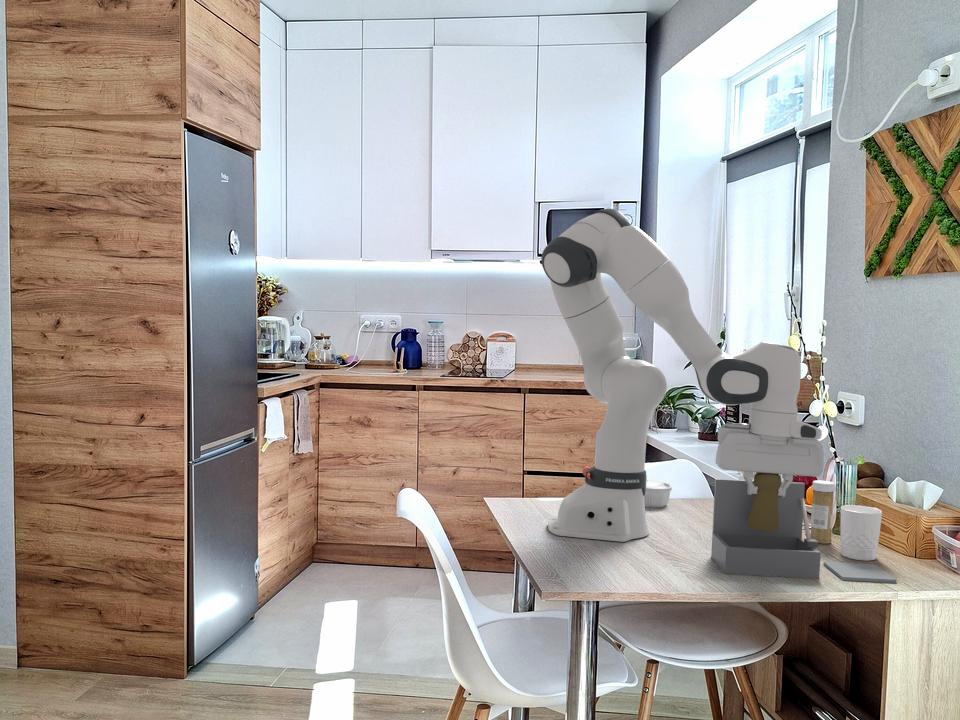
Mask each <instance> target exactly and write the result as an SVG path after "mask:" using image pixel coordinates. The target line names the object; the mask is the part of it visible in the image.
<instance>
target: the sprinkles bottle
mask: <svg viewBox="0 0 960 720" xmlns="http://www.w3.org/2000/svg"><path fill="white" fill-rule="evenodd" d="M811 485H812V501H811V502H812V503H811V513H810V514H811V516H810V518H811V519H810V536H811V539H815V540H816V541H818V544H823V545H824V544H825V545H826V544H831V543H832V531H833V529H832V528H833V516H834V515H833V512H834V511H833V509H834V505H833V504H834V493H835V490H836V487H835V482H833V481H830V480H823V479H822V480H821V479H820V480H818V479H817V480H813V481H812V484H811Z"/></svg>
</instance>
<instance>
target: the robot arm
mask: <svg viewBox="0 0 960 720" xmlns="http://www.w3.org/2000/svg"><path fill="white" fill-rule="evenodd" d="M541 265H542V269H543V271H544V273H545V275H546V276H547V278H548V279H549V281H550V285H551V289H552V292H553V295H554V298H555V301H556V304H557V307H558V308H559V311H560V314H561V315H562V317H563V320H564V322H565V323H566V326H567V328H568V329H569V330H568V331H569V332H570V333H571V336H572V338H573V340H574V342H575V344H576V347H577V349H578V353H579V355H580V359H581V363H582V364H581V365H582V367H583V370H584V371H583V372H584V373H583V374H584V375H583V383H584V388H585V390H586V391H587V393H588V394H589V395H590V396H591V397H593V398H594V399H595V400H596V401H598V402H600V403H602V404H606V405H607V409H606V413H605V416H604V419H603V421H602V424H601V426H600V427H599V428H598V430H597V431H596V433H595V434H596V435H595V450H594V451H595V452H594V453H595V454H594V455H595V456H594V466H593V467H589V466H587V465H585V466H583V468H582V470H581V471H582V475H583V476H584V482H585V483H583V484H581V486H579V487H578V488H577V489H575V490H573V491H572V492H570V493H569V494H567V495H566V496H564V498H562V501H561V502H560V504H559V505H560V506H559V508H558V513H557V517H551V518H550V519H549V520H548V523H547V529H548V531H549V532H550V533H552V534H553V535H555V536H561V537H571V538H578V539H579V538H581V539H589V540H592V539H593V540H601V541H610V542H611V541H612V542H618V543H619V542H621V543H622V542H624V543H625V542H628V541H630V540H634V539H635V540H636V539H641V538H645V537H647V536H648V535H650V531H649V527H648V522H647V517H646V516H647V515H646V507H645V504H644V496H645V492H646V482H647V479H648V477H647V470H645V466H646V452H647V451H646V450H647V438H648V433H649V429H650V424H651V421H652V418H653V416H654V412H655V410H656V409H657V407H658V405H659V404H661V403H662V401H663V400H664V398H665V396H666V394H667V387H668V386H667V385H668V384H667V379H666V376H665V375H664V372H663V371H662V370H661V369H660V368H658V367H657V366H656V365H654V364H652V363H651V362H648V361H646V360H643V359H635V358H634V359H633V358H631V357H630V356H629V355H628V353H627V350H626V348H625V343H624V339H623V338H624V337H623V335H624V334H623V333H624V330H625V327H624V324H623V321H622V319H621V317H620V314H619V313H618V310H617V308H616V306H615V305H614V302H613V301H612V298H611V296H610V294H609V292H608V290H607V288H606V286H605V284H604V282H603V280H602V276H601V275H602V274H606V275H608V276H610V277H611V278H612V279H613V280H614V281H615V282H616V284H617V285H618V286H619V288H620V289H621V291H622V292H623V294H625V295H626V297H627V298H628V300H629V301H630V302H631V303H632V304H633V305H634V306H635V307H636V308H637V309H638V310H639V311H640V312H641V313H643V315H644V316H646V317H647V319H648V318H649V320H651V321H652V322H654V323H655V324H656V325H657V326H659V327H661V328H662V329H663V330H664V331H665V332H666V333H667V334H668V335H669V336H670V337H671V338H672V339H673V341H674V343H675V344H677V346H678V348H680V350H681V352H682V353H683V354H684V355H685V357H686V358H687V359H688V360H689V362H690V363H691V365H692V366H693V369H694V371H695V374H696V380H697V383H698V386H699V388H700V391H701V392H702V393H703V394H702V395H704V396H705V397H706V398H708V400H710V401H712V402H714V403H715V402H716V403H719V404H721V405H725V406H737V405H743V404H744V405H745V404H749V405H750V406H749V417H748V423H743V422H739V423H735V422H730V421H729V422H726V423H725V424H722V425H720V427H719V428H718V431H717V442H718V445H717V449H716V453H715V454H716V455H715V465H716V466H717V467H718V468H720V469H721V470H723V471H734V472H735V471H737V472H739V471H743V477H744V479H745V481H746V483H747V484H748V488H747V493H748V494H749V495H757V490H758V487H757V486H755V485H753V483H752V481H751V479H750V477H753V472H760V473H773V474H778V475H782V476H781V479H784V480H783V481H781V482H782V484H781V487H780V488H779V490H778V497H785V494H786V489H787V488H788V486H789V485H790V484H791V482H794V481H793V480H794V476H800V477H801V476H803V477H812V478H813V477H815V478H816V477H817V478H818V477H820V476H821V475H822V474H823V473H824V469H825V468H824V467H825V464H824V463H825V457H824V456H825V454H824V453H825V452H824V447H823V444H822V442H821V441H819V439H821V438H822V435H823V433H822V430H821V428H819V427H817V426H814V425H811V424H809V423H807V422H806V421H804V420H800V419H798V414H799V412H798V411H799V409H798V406H797V399H798V396H799V393H800V389H801V372H802V371H801V368H802V367H801V357H800V354H799V352H798V351H797V350H796V349H795V348H794V347H791V346H789V345H785V344H781V343H778V342H772V341H768V340H765V341H761V342H759V343H758V344H756V345H754V346H752V347H751V348H748V349H745V350H743V351H741V352H738V353H737V352H736V353H734V354H729V353H727V352H725V351H724V350H723V349H721V348H720V347H719V346H718V345H717V344H716V342H715V341H714V340H713V339H712V337H711V335H710V334H709V333H708V332H707V331H706V330H705V327H704V326H703V325H702V324H701V323H700V321H699V319H697V317H696V315H695V314H694V311H693V309H692V304H691V300H690V292H689V287H688V284H687V283H686V282H685V279H684V278H683V276H682V274H681V271H679V269H678V268H677V266H676V264H675V263H674V262H673V261H672V260H671V258H670V257H669V256H668V255H667V254H666V252H665V251H664V250H663V249H662V248H661V247H660V245H658V243H656V242H655V241H654V240H653V239H652V238H651V237H650V236H649V235H648V234H647V233H646V232H644V231H643V230H642V229H641V228H639V227H637V226H635V225H631V224H630V222H629V220H628V218H627V217H626V216H625V215H624V214H623V213H622V212H620V211H619V210H617V209H614V208H602V209H599V210H596V211H594V212H592V213H591V214H589V215H588V216H586V217H584V218H582V219H579V220H578V221H577V222H575V223H573V224H572V225H570V227H569V228H567V229H565V231H564V232H562V233H561V234H559V235H558V236H557V237H554V238H553V239H551V241H550V242H549V243H548V244H547V245H546V246H545V248H544V249H543V251H542V253H541Z"/></svg>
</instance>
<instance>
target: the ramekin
mask: <svg viewBox="0 0 960 720" xmlns="http://www.w3.org/2000/svg"><path fill="white" fill-rule="evenodd" d="M672 490H673V486H672V485H671V484H670V483H667V482H663V481H658V480H649V479H648V480H647V482H646V492H645V496H644V504H645V508H663V507H666V506H667V505H668V503H669V500H670V495H671V491H672Z"/></svg>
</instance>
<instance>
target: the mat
mask: <svg viewBox="0 0 960 720" xmlns="http://www.w3.org/2000/svg"><path fill="white" fill-rule="evenodd" d="M822 563H823V566H824V567H826V568H827V569H828V570H829V571H830V572H832V573H833V574H834V575H835V576H836V577H838V578H839V579H840V580H841V581H850V582H851V581H852V582H855V581H856V582H870V583H871V582H872V583H875V582H876V583H891V584H897V582H898V581H897V579H896V578H895V577H894V576H892V575H890V574H889V573H887V572H886V571H885V570H883V569H882V568H881V567H880V566H878V565H876V564H874V563H872V564H871V563H855V562H854V563H852V562H833V561H832V562H831V561H823V562H822Z"/></svg>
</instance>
